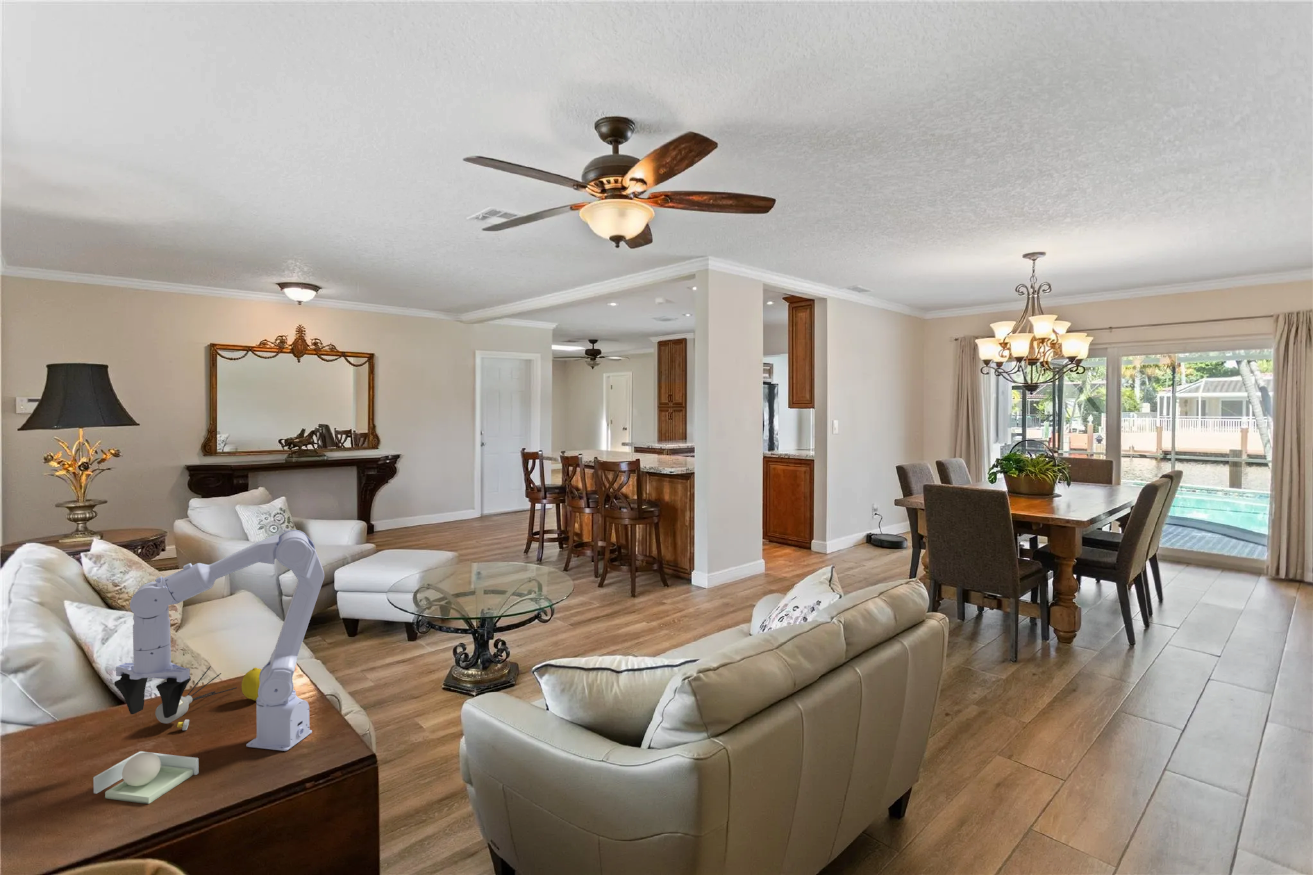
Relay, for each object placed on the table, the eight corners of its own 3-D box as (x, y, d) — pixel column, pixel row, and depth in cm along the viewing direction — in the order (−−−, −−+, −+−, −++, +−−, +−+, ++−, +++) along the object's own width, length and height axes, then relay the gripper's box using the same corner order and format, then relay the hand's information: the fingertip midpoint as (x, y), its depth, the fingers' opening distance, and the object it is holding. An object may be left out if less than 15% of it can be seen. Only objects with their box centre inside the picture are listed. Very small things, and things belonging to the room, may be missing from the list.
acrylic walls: (198, 773, 123) (198, 757, 123) (156, 801, 114) (155, 784, 114) (140, 766, 125) (139, 751, 125) (93, 793, 116) (93, 777, 116)
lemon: (259, 706, 151) (259, 672, 150) (236, 705, 151) (235, 672, 150) (273, 695, 156) (273, 663, 156) (251, 694, 156) (251, 662, 156)
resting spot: (192, 775, 122) (192, 769, 122) (148, 803, 114) (148, 797, 113) (151, 770, 124) (151, 764, 124) (105, 798, 115) (105, 791, 115)
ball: (173, 765, 121) (157, 740, 121) (147, 782, 116) (130, 756, 116) (152, 780, 122) (136, 756, 122) (125, 798, 116) (108, 772, 116)
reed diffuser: (153, 693, 138) (218, 656, 158) (134, 716, 138) (201, 677, 158) (190, 723, 138) (250, 683, 158) (171, 747, 138) (233, 704, 158)
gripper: (99, 650, 121) (101, 720, 122) (166, 655, 119) (167, 727, 120) (135, 637, 128) (136, 703, 129) (198, 642, 126) (199, 709, 127)
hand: (153, 713), depth 125 cm, fingers open, 7 cm apart
